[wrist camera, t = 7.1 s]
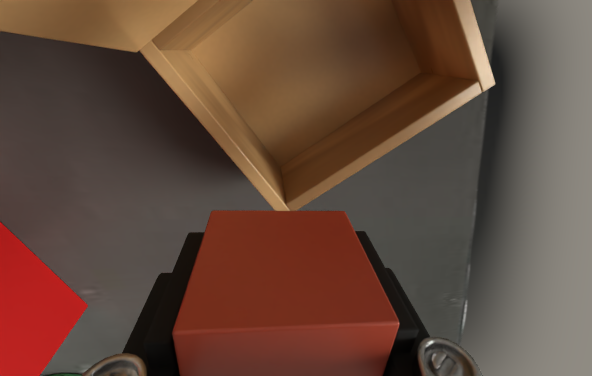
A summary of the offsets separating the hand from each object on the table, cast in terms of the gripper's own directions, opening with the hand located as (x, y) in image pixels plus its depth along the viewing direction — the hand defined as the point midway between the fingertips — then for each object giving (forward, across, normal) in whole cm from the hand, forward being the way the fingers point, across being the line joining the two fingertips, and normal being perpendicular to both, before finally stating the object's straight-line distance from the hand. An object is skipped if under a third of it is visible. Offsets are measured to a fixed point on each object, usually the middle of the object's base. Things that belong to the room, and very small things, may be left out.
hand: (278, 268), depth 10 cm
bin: (+15, -3, -6) cm, 17 cm away
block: (0, 0, 0) cm, 0 cm away
